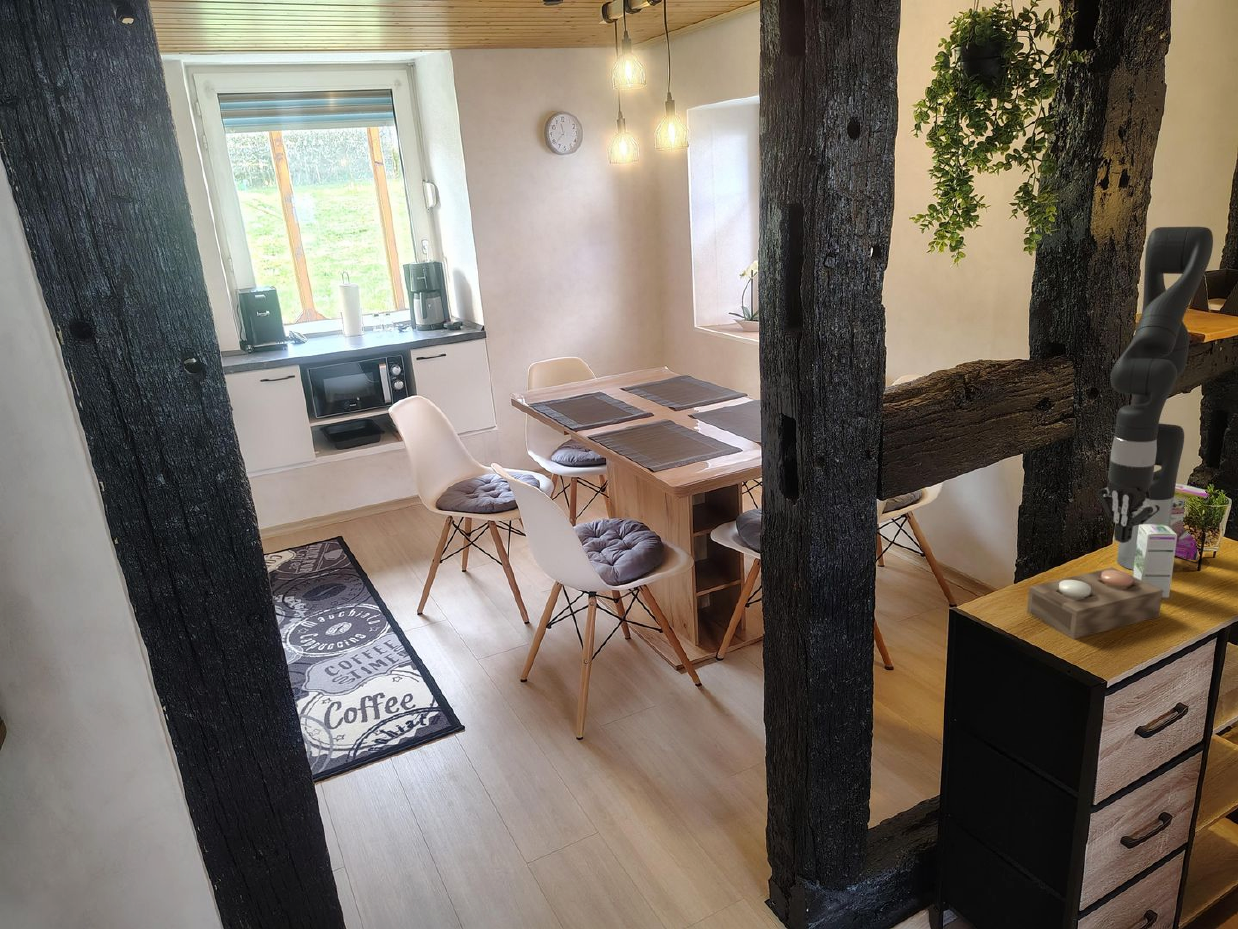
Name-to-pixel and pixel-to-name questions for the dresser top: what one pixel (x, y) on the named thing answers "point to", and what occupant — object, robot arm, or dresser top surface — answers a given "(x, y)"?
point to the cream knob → (1074, 589)
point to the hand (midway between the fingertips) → (1121, 540)
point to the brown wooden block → (1094, 605)
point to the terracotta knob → (1116, 579)
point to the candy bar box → (1184, 539)
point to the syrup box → (1155, 556)
